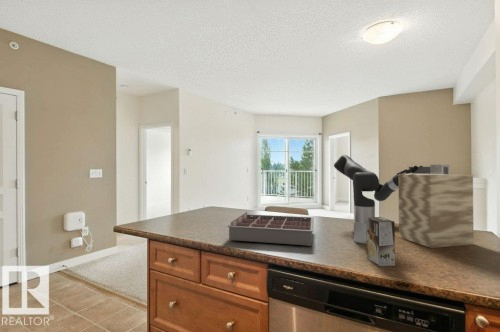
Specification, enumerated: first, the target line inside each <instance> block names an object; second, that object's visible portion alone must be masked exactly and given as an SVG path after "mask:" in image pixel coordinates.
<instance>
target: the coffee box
mask: <svg viewBox="0 0 500 332" xmlns="http://www.w3.org/2000/svg"><path fill="white" fill-rule="evenodd" d="M395 224H396V223H395V220H391V219H388V218H384V217H381V216H378V217H377V216H375V217H366V243H367V244H366V259H368V260H370V261H371V262H373V263H375V264H376V265H378V266H379V267H393V266H396V246H395V245H396V238H395V237H396V233H395V231H396V230H395V229H396V228H395Z"/></svg>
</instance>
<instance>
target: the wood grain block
mask: <svg viewBox="0 0 500 332" xmlns="http://www.w3.org/2000/svg"><path fill="white" fill-rule="evenodd" d="M398 179H399V189H398V238H400V239H404V240H406V241H410V242H413V243H416V244H419V245H422V246H424V247H428V248H431V249H434V248H436V249H437V248H445V247H446V248H447V247H456V246H468V245H475V243H474V175H473V174H451V173H450V174H400V175H398Z"/></svg>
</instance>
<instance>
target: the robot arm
mask: <svg viewBox="0 0 500 332" xmlns="http://www.w3.org/2000/svg"><path fill="white" fill-rule="evenodd" d="M333 167H334V168H335V169H336V170H337V172H339V173H341V174H342V175H344V176H346V177H347V178H348V179H350V180H351V181H352V189H353V190H352V193H353V242H354V243H359V244H362V245H363V244H364V245H367V243H366V217H376V202H375V201H378V202H383V201H385V200H387V199H388V198H389V197H390V196H391V195H392V194H393V193H394V192H396V191H398V190H399V179H398V175H400V174H412V173H413V172H414V171H416V170H417V169H418V167H424V166H423V165H420V166H418V165H414V166H411V167H412V168H411V169H409V168H408V169H403V170H402V171H399V172H397V173H396V174H395V175H394V176H392V177H391V178H390V179H389V180H387V181H386V182H385V183H383V184H380V179H379V177H378V174H376V173H375V172H372V171H370V170H368V169H366V168H365V167H363V166H362V165H360V164H359V163H358V162H356V161H355V160H353V159H352V157H350V156H349V155H347V154H342V155H341V156H340V157H339V158H338V159H337V160H336V161H335V162H334V163H333ZM363 192H367V193H368V192H369V193H370V192H374V194H373V197H374V199H375V200H374V199H371V198H368V197H366V196H365V195H364V194H363Z"/></svg>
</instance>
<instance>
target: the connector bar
mask: <svg viewBox="0 0 500 332" xmlns="http://www.w3.org/2000/svg"><path fill="white" fill-rule="evenodd" d="M412 167H413V166H408V169H411V168H412ZM417 167H418V169H417V170H416V171H414V172H413V173H412V174H451V165H450V164H429V166H423V167H419V166H417Z"/></svg>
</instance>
